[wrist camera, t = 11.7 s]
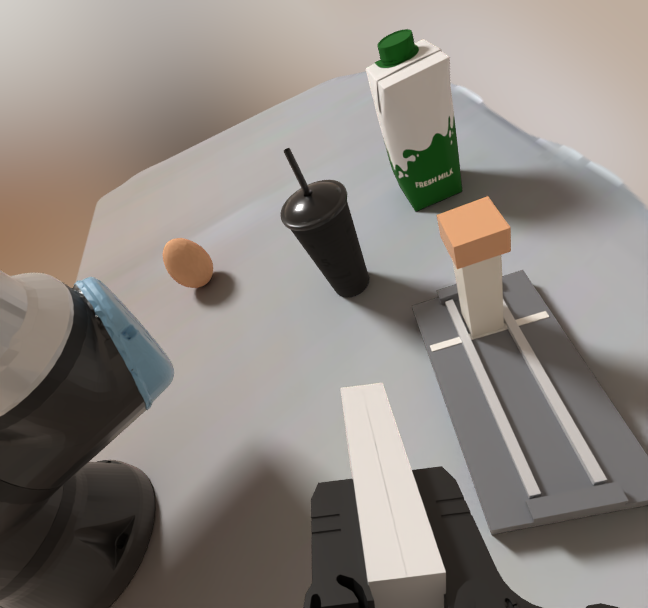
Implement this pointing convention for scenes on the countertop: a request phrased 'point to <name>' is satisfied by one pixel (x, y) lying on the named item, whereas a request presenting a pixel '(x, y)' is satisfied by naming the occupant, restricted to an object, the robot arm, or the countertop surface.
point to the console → (530, 414)
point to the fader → (477, 261)
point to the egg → (187, 263)
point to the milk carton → (417, 117)
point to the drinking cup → (326, 231)
